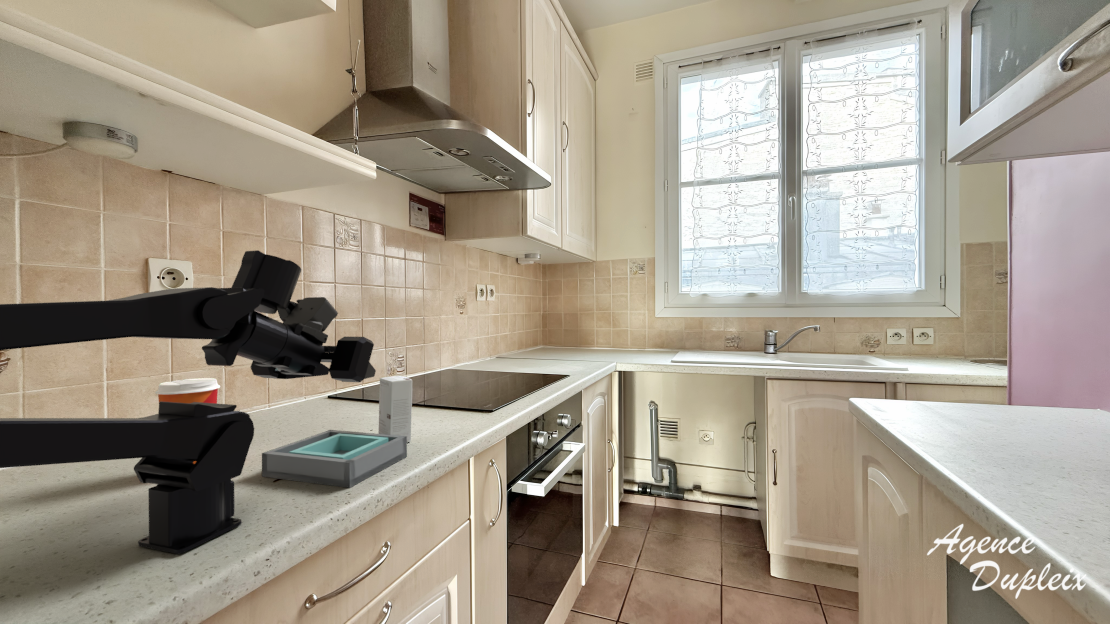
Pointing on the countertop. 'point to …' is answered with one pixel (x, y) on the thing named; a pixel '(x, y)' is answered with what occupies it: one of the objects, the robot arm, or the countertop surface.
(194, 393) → the paper cup
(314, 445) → the crate
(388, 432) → the skincare box
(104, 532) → the countertop surface
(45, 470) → the countertop surface
